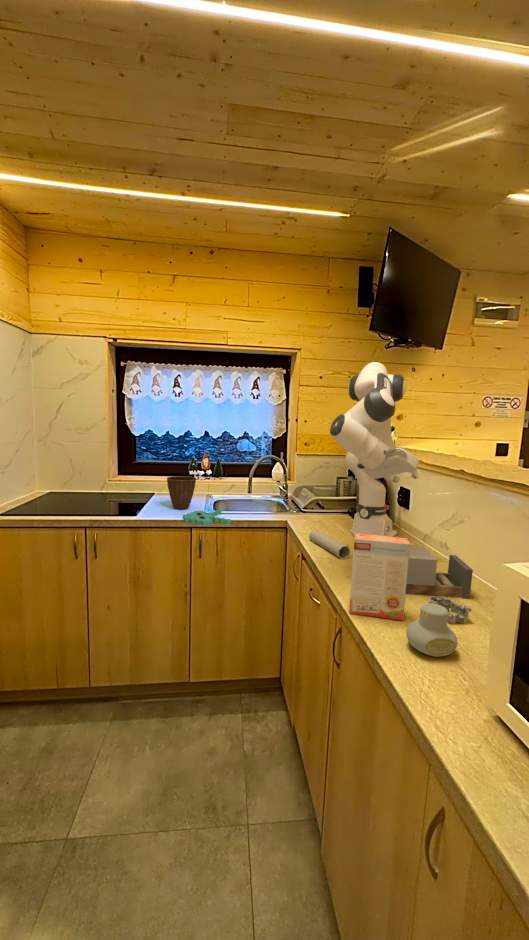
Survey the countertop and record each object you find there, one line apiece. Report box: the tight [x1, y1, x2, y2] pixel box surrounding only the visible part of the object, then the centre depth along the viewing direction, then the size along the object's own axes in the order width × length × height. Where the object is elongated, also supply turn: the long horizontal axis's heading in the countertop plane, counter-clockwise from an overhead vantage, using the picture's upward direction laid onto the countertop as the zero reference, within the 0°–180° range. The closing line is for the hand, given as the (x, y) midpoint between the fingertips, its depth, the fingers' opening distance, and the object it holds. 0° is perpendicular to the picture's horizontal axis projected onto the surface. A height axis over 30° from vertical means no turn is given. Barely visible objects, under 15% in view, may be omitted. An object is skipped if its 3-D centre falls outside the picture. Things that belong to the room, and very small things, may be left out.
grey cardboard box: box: [406, 544, 438, 586], centre depth 133 cm, size 10×13×8 cm
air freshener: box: [405, 602, 458, 658], centre depth 97 cm, size 11×8×10 cm
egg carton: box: [427, 595, 472, 625], centre depth 116 cm, size 11×8×4 cm
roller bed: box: [405, 554, 474, 600], centre depth 133 cm, size 22×13×9 cm, turn 87°
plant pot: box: [166, 475, 197, 511], centre depth 222 cm, size 15×15×16 cm
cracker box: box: [348, 533, 411, 621], centre depth 113 cm, size 14×6×21 cm, turn 77°
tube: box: [308, 529, 351, 560], centre depth 168 cm, size 5×5×25 cm
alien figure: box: [182, 509, 232, 526], centre depth 204 cm, size 20×2×20 cm
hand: (407, 478), depth 134 cm, fingers open, 8 cm apart
